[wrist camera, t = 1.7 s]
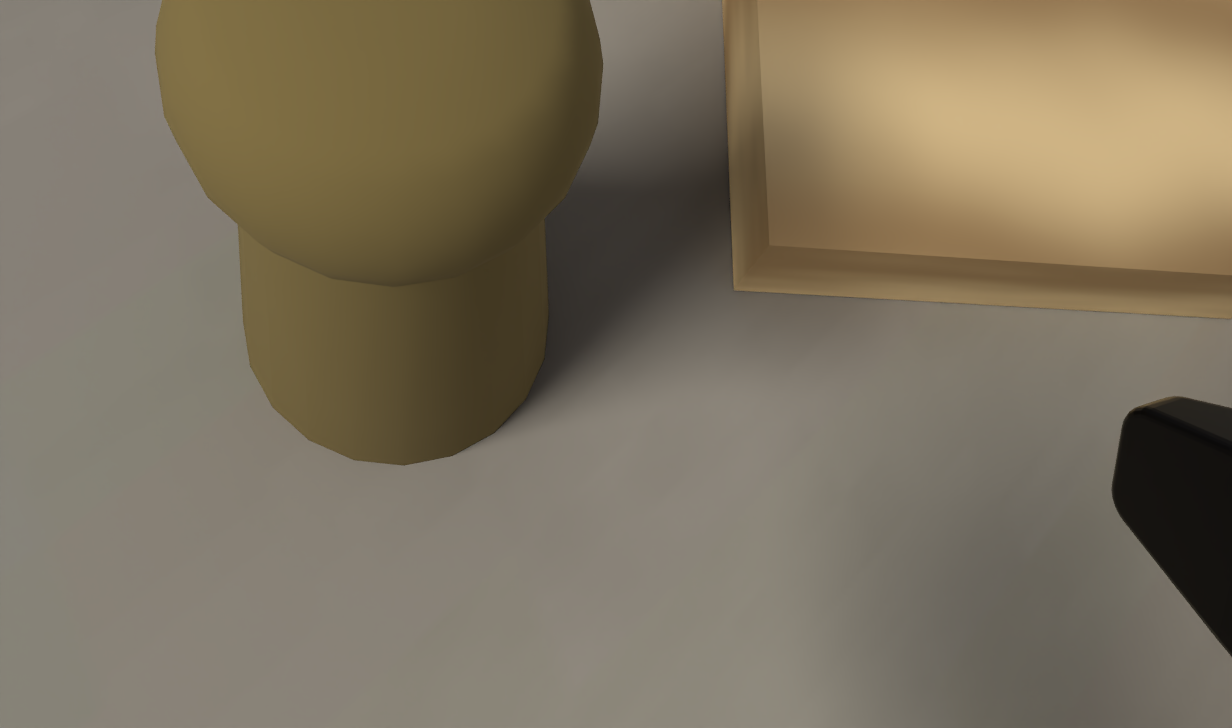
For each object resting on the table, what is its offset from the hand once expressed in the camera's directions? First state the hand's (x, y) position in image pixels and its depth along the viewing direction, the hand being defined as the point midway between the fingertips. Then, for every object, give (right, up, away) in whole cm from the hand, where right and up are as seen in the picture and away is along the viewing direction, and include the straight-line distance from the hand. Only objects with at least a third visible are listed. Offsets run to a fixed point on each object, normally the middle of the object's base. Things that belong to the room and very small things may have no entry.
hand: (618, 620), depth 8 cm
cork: (-4, +3, +14) cm, 15 cm away
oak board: (+8, +9, +18) cm, 22 cm away
